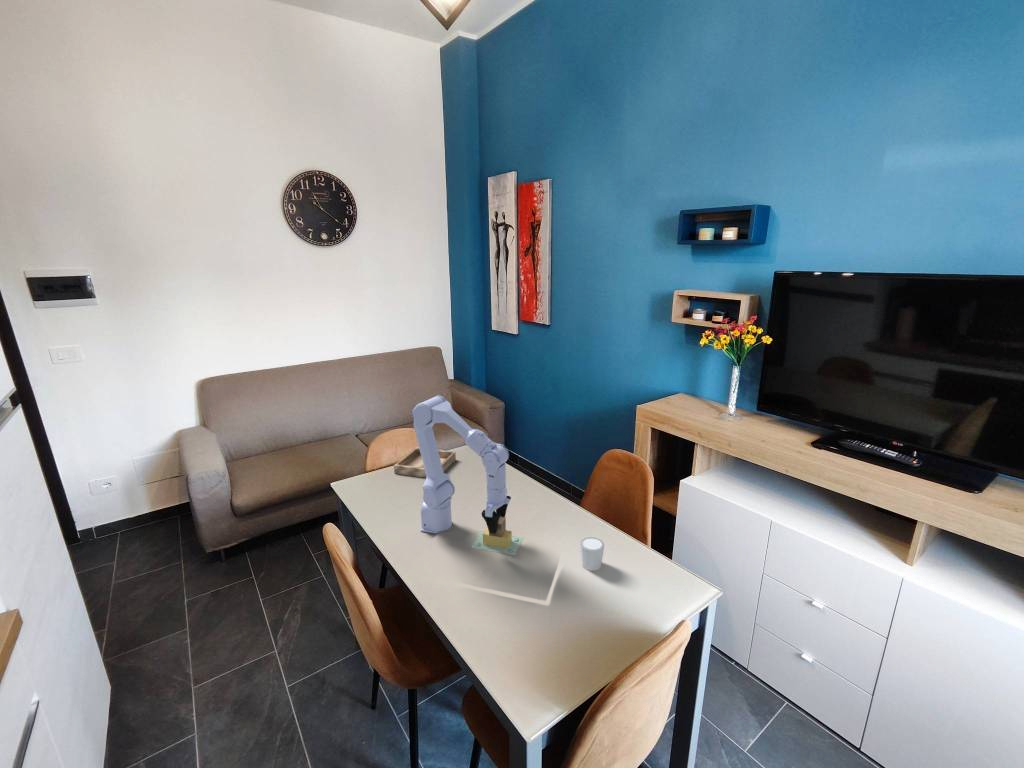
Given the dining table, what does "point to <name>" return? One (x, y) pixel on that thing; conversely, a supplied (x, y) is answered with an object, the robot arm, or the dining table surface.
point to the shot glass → (591, 553)
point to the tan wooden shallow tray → (421, 463)
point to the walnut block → (500, 527)
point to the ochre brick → (497, 539)
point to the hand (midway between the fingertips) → (497, 525)
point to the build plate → (511, 549)
